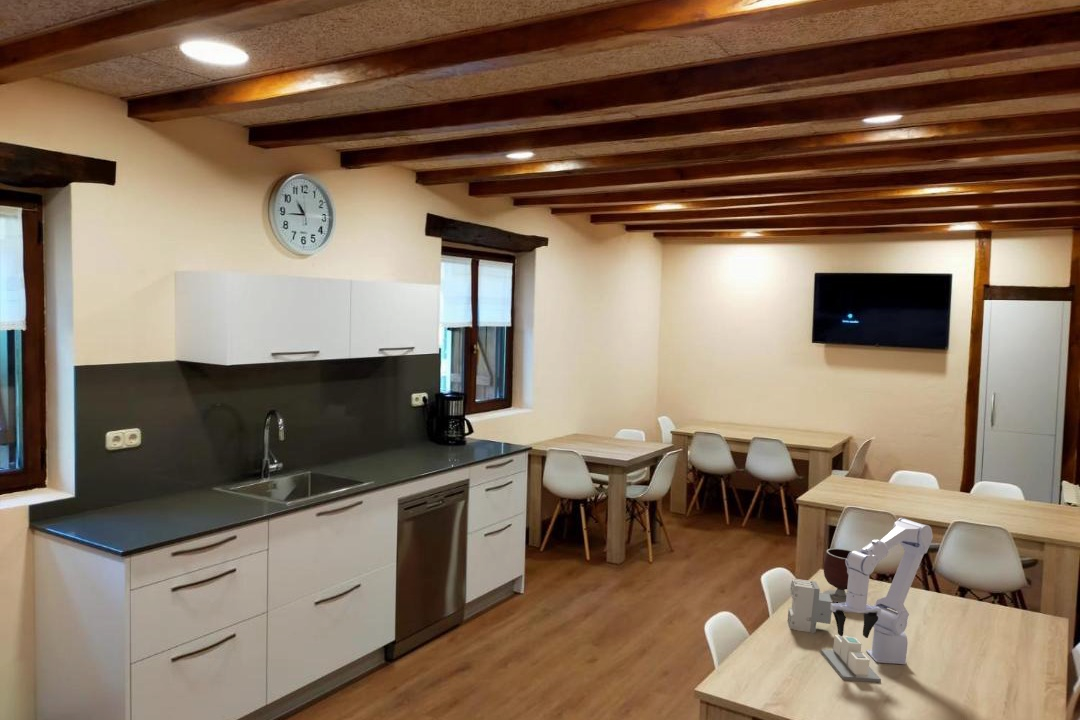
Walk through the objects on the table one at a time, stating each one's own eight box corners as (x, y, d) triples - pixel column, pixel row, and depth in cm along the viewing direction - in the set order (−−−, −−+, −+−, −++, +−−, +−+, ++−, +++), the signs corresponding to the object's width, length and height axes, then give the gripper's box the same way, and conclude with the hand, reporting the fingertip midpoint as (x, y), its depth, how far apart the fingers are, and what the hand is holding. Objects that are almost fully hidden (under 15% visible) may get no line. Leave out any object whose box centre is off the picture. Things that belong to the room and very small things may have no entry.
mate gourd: (824, 602, 289) (829, 549, 287) (817, 589, 302) (822, 538, 301) (868, 607, 286) (873, 554, 285) (859, 594, 300) (864, 543, 298)
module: (853, 657, 238) (855, 636, 237) (859, 664, 233) (861, 643, 233) (840, 657, 238) (842, 636, 237) (846, 663, 233) (848, 642, 233)
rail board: (855, 654, 244) (857, 635, 244) (880, 682, 226) (882, 661, 226) (820, 652, 244) (822, 632, 244) (843, 679, 226) (845, 658, 226)
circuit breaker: (834, 635, 258) (839, 591, 257) (789, 629, 261) (794, 585, 260) (830, 626, 265) (835, 584, 264) (787, 620, 268) (791, 578, 267)
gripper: (875, 588, 238) (871, 631, 238) (828, 585, 237) (824, 628, 238) (885, 597, 230) (881, 641, 231) (837, 594, 230) (832, 638, 231)
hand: (852, 635), depth 234 cm, fingers open, 7 cm apart
